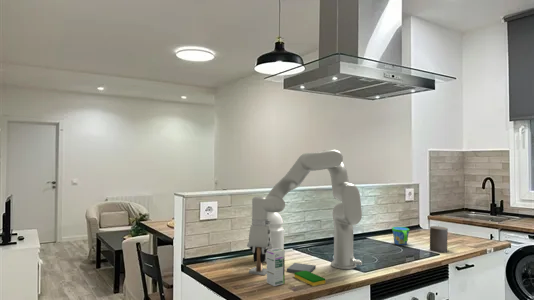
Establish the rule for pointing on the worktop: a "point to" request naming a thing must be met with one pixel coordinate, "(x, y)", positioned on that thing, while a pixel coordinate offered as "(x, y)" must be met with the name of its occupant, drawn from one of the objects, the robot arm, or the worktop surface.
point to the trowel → (258, 264)
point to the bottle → (276, 231)
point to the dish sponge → (309, 278)
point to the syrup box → (275, 267)
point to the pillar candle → (438, 238)
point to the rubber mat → (301, 268)
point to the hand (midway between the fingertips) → (259, 261)
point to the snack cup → (400, 235)
